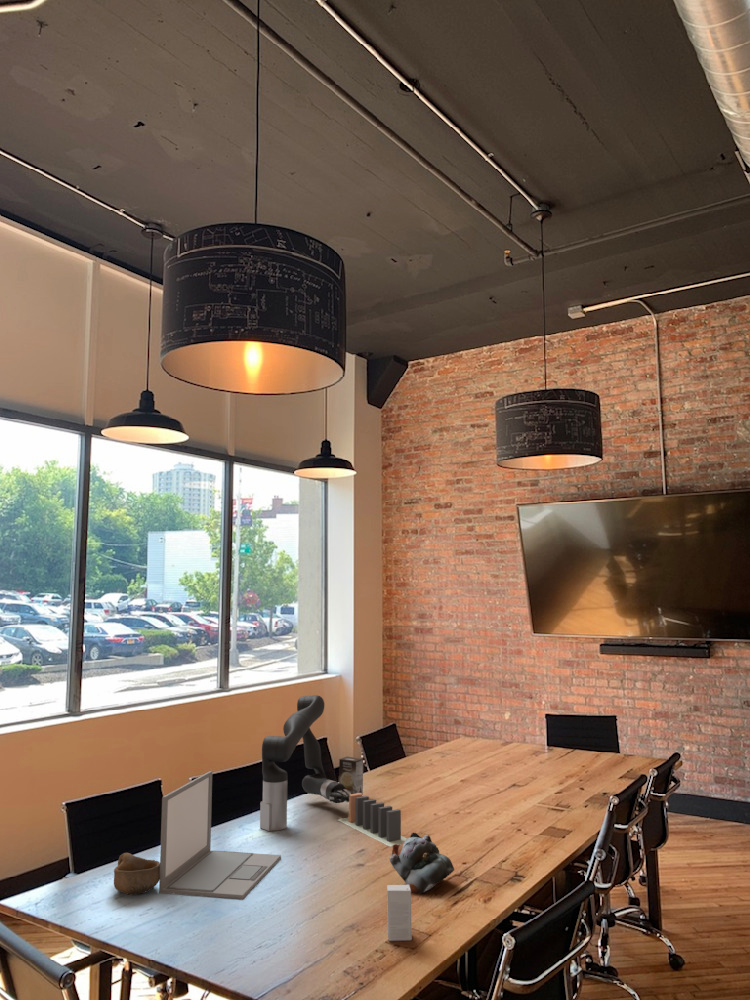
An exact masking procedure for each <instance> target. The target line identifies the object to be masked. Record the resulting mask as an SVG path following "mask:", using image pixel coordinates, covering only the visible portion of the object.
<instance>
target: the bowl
mask: <svg viewBox="0 0 750 1000" xmlns="http://www.w3.org/2000/svg"><path fill="white" fill-rule="evenodd" d="M113 872H114V875H113V886H114V888H115V889H116V890H117V891H119V892H121V893H123V894H127V896H128V895H132V896H134V895H138V894H143V893H146V892H149V891H150V890H152V889H154V888H155V887H156V886H157V885H158V883H159V881H160V861H158V860H156V859H146V858H143V857H140V856H136V855H133V854H132V853H129V852H123V853H122V854H121V855H119V858H118V861H117V866H116V867H115V868H114V869H113Z"/></svg>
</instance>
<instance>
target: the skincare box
mask: <svg viewBox="0 0 750 1000" xmlns="http://www.w3.org/2000/svg"><path fill="white" fill-rule="evenodd" d="M386 899H387V900H386V905H387V907H386V908H387V909H386V910H387V912H386V914H387V938H388V939H387V940H388V941H389V942H394V941H395V942H397V941H398V942H399V941H412V939H413V935H412V930H413V929H412V892H411V889H410V885H407V884H387V885H386Z"/></svg>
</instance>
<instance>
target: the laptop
mask: <svg viewBox="0 0 750 1000" xmlns="http://www.w3.org/2000/svg"><path fill="white" fill-rule="evenodd" d="M212 794H213V770H210V771H207V772H206V773H204V774H202V775H201V776H199V777H197V778H195V779H193V780H191V781H189V782H187V783H185V784H184V785H182V786H180V787H179V788H176V789H174V790H172V791H171V792H169V793H168V794H165V795H163V796H162V798H161V825H160V827H161V828H160V829H161V830H160V852H159V853H160V855H159V858H160V860H159V863H160V880H159V882H158V883H159V885H158V887H159V889H158V893H161V894H162V893H163V894H172V893H175V894H174V895H185V894H188V895H187V896H198V895H204V896H203V897H211V896H213V897H214V898H223V897H225V899H226V898H227V899H236V898H238V900H244V898H245V897H246V896H247V895H248V894H249V893H250V892H251V891H252V890H253V888H255V886H256V885H257V884H258V883H259V882H260V881H261V880H262V879H263V878H264V877H265V876H266V875H267V874H268V873H269V872H270V871H271V870H272V868H274V867H275V866H276V865H277V863H278V862H279V861H280V860H281V858H282V855H280V854H268V853H254V852H241V851H225V850H223V851H222V850H211V847H212V846H211V842H212V841H211V840H212V839H211V838H212V804H213V803H212V802H213V801H212V800H213V799H212V797H213V795H212ZM213 897H212V898H213Z"/></svg>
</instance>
